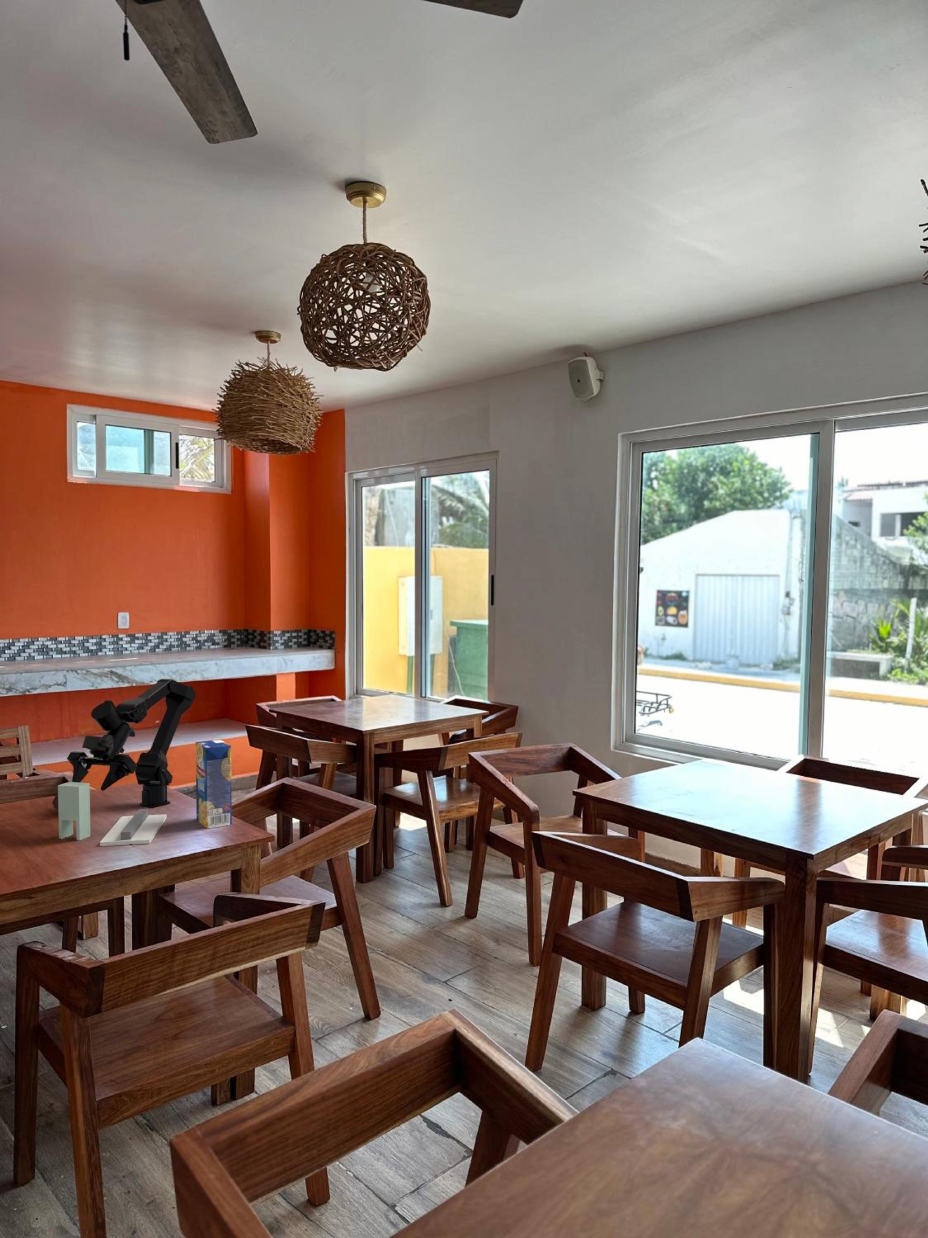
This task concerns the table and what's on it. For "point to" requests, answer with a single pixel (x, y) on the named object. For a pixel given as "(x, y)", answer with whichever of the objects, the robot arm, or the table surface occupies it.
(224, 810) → the beverage box
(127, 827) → the rail
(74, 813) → the clip
